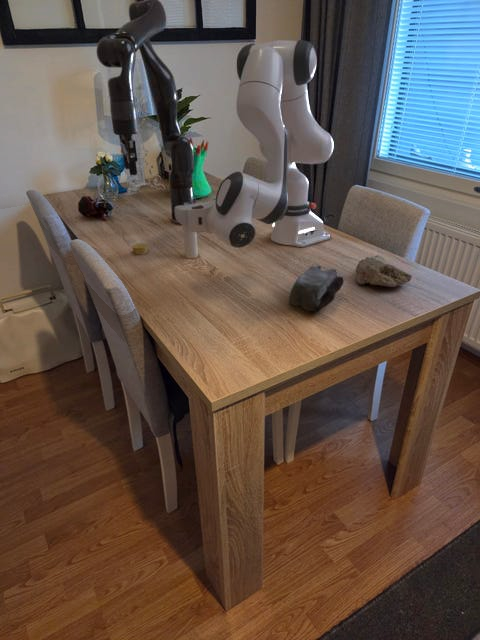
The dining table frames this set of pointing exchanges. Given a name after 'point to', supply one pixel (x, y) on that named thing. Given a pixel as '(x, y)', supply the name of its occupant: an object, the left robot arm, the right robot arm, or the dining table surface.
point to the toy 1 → (95, 207)
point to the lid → (140, 248)
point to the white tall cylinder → (190, 243)
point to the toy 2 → (199, 172)
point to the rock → (315, 288)
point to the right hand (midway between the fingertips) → (201, 203)
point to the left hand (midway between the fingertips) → (130, 171)
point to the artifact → (380, 273)
